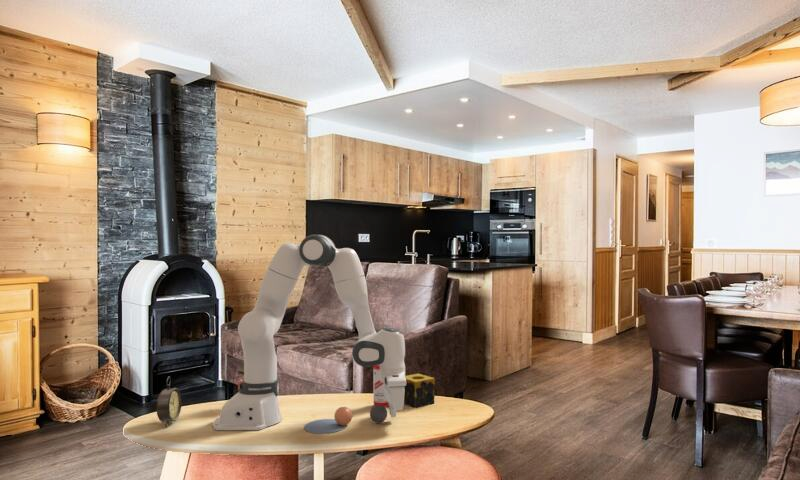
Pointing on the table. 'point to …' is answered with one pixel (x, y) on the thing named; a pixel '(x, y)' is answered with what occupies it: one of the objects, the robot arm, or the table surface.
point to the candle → (419, 390)
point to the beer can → (378, 388)
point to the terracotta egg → (343, 416)
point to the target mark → (323, 426)
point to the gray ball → (378, 413)
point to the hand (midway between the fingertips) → (392, 416)
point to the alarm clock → (169, 404)
